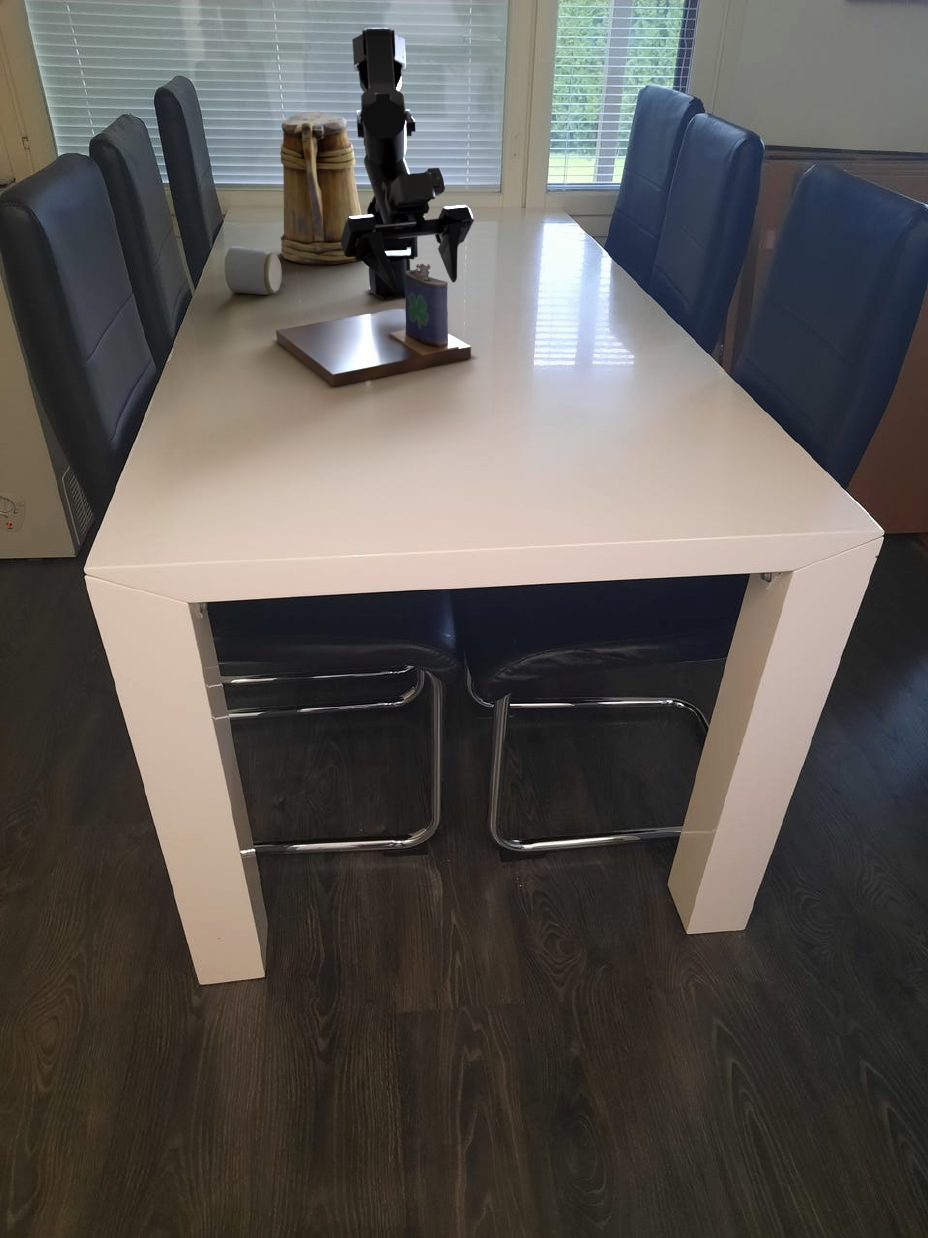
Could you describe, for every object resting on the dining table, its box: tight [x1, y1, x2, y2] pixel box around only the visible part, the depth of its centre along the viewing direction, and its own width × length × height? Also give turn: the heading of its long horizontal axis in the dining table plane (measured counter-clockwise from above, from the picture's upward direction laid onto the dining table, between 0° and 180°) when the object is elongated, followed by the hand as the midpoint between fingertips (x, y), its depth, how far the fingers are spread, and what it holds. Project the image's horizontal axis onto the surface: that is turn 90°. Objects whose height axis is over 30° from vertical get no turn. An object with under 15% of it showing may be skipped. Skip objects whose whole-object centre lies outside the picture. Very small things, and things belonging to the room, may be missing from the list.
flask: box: [404, 263, 449, 348], centre depth 124 cm, size 9×3×11 cm, turn 37°
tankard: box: [280, 110, 363, 266], centre depth 167 cm, size 18×24×25 cm
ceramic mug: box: [224, 245, 283, 296], centre depth 153 cm, size 11×8×8 cm
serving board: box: [275, 307, 472, 388], centre depth 129 cm, size 22×22×2 cm
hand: (425, 284), depth 121 cm, fingers open, 9 cm apart
